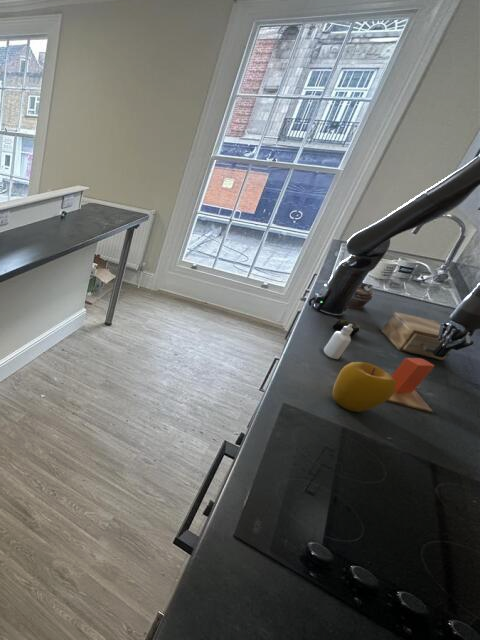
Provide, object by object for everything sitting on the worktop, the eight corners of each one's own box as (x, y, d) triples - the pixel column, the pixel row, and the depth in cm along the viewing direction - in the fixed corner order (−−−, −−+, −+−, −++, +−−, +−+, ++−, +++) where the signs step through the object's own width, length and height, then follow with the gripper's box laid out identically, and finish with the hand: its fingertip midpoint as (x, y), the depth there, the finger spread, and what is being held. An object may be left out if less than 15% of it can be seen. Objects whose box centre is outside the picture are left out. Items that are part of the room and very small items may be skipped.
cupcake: (336, 297, 177) (349, 276, 172) (364, 305, 172) (378, 284, 167) (335, 303, 171) (349, 282, 165) (364, 312, 165) (379, 290, 160)
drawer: (450, 366, 132) (464, 350, 129) (410, 356, 135) (422, 340, 132) (423, 340, 146) (435, 325, 143) (387, 332, 149) (398, 317, 146)
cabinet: (441, 360, 137) (458, 340, 132) (398, 349, 140) (414, 330, 136) (420, 339, 148) (435, 320, 144) (381, 330, 152) (394, 311, 148)
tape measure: (329, 330, 149) (334, 321, 147) (335, 325, 152) (341, 317, 150) (351, 339, 144) (357, 330, 142) (357, 334, 148) (363, 325, 146)
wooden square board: (378, 398, 115) (379, 396, 114) (360, 371, 126) (361, 370, 125) (431, 412, 111) (433, 411, 110) (407, 384, 122) (409, 382, 122)
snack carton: (384, 384, 120) (405, 358, 114) (399, 384, 120) (421, 358, 115) (395, 392, 117) (418, 365, 111) (411, 392, 117) (435, 365, 112)
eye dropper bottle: (339, 354, 134) (360, 324, 128) (337, 361, 130) (359, 330, 124) (323, 348, 136) (343, 318, 130) (321, 354, 133) (341, 324, 127)
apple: (383, 417, 107) (414, 380, 101) (352, 421, 105) (383, 383, 98) (343, 390, 116) (369, 354, 110) (314, 393, 114) (339, 356, 107)
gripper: (448, 298, 129) (413, 342, 137) (473, 315, 118) (433, 362, 127) (479, 304, 126) (441, 349, 135) (507, 323, 116) (463, 370, 124)
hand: (437, 355), depth 131 cm, fingers closed
